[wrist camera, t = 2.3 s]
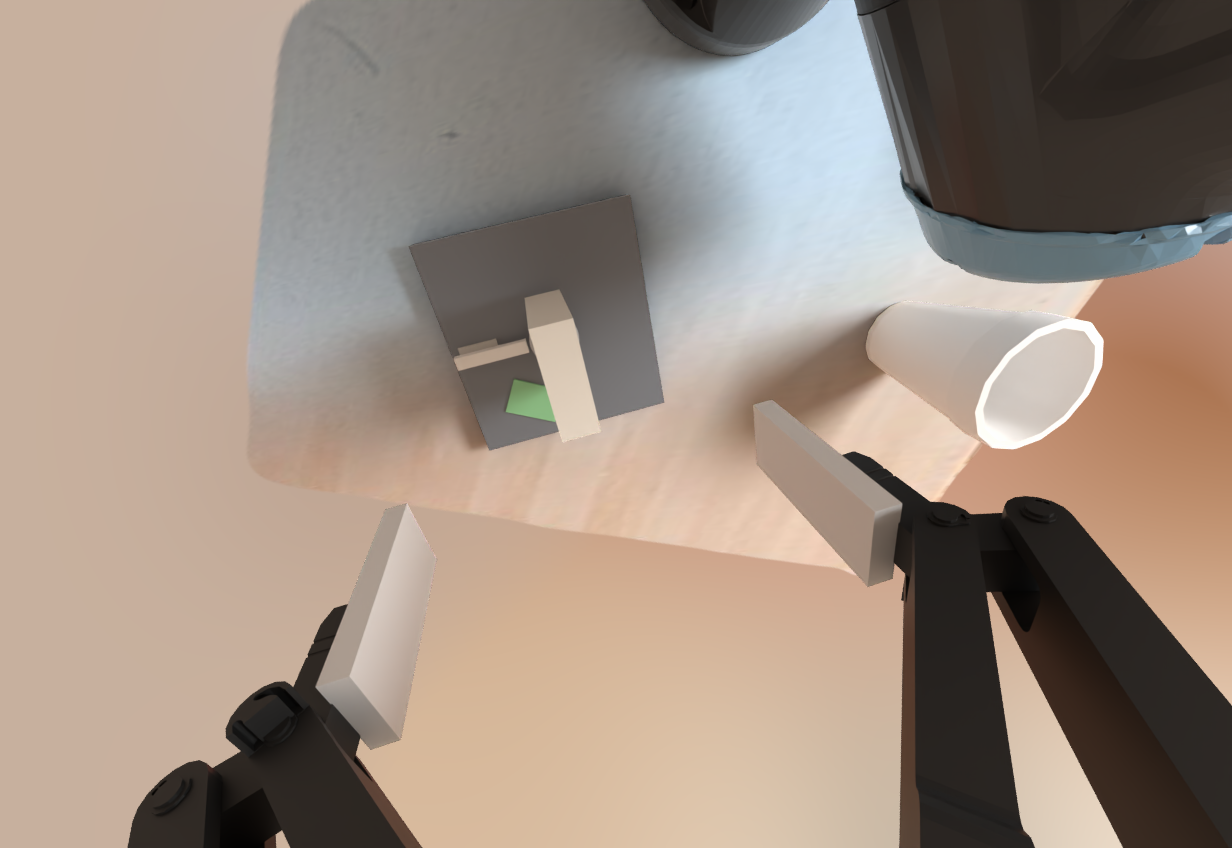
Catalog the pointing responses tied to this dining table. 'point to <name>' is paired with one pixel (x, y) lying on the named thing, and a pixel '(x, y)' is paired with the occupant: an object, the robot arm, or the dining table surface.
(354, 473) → the dining table surface
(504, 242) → the base
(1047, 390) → the foam cup
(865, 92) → the dining table surface
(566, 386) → the cream angular block
